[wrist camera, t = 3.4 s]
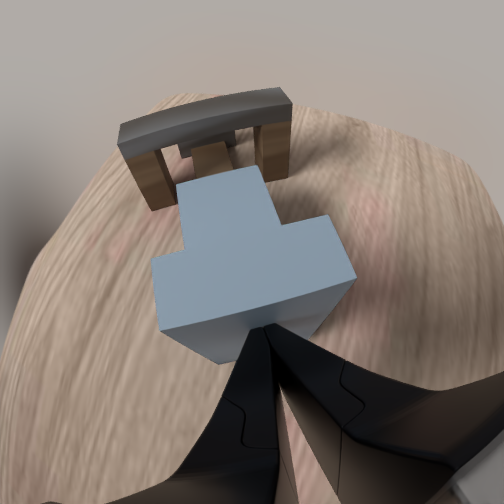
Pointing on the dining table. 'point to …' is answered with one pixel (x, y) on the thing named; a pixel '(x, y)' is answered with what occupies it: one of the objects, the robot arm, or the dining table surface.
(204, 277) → the light blue l-shaped block
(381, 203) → the dining table surface
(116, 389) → the dining table surface
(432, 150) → the dining table surface
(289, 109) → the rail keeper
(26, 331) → the dining table surface
